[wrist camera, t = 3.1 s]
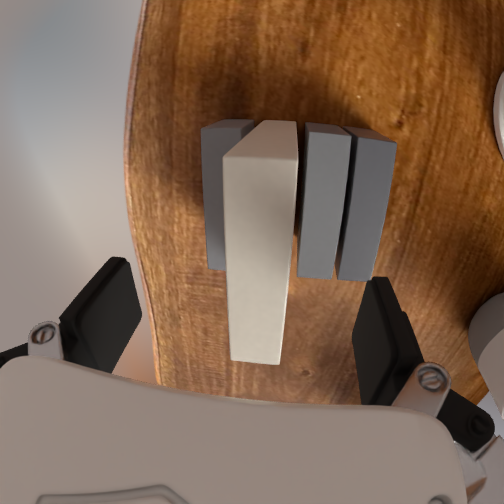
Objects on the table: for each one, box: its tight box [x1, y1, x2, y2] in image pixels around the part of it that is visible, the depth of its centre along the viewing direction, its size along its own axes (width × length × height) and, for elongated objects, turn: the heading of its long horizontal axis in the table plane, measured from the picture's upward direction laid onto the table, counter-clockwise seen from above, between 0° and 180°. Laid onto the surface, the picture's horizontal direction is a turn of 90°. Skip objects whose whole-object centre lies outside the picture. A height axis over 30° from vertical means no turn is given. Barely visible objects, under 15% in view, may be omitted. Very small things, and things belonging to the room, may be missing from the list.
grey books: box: [201, 119, 397, 282], centre depth 21 cm, size 10×12×6 cm
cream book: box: [222, 120, 298, 365], centre depth 18 cm, size 10×2×14 cm, turn 179°
